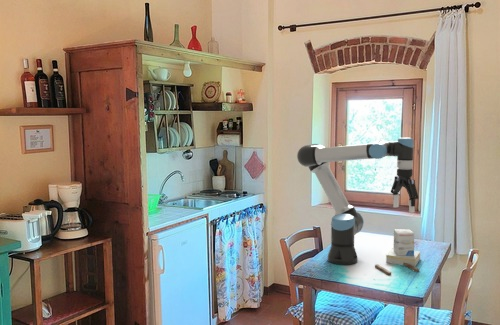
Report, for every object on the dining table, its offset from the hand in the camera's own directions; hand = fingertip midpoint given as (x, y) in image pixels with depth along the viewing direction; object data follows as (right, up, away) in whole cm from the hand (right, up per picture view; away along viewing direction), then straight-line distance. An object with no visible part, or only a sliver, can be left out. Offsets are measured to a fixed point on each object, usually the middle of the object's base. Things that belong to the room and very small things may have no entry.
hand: (403, 209), depth 234 cm
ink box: (+1, -23, +3) cm, 23 cm away
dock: (+1, -27, +3) cm, 27 cm away
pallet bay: (-7, -28, -10) cm, 30 cm away
